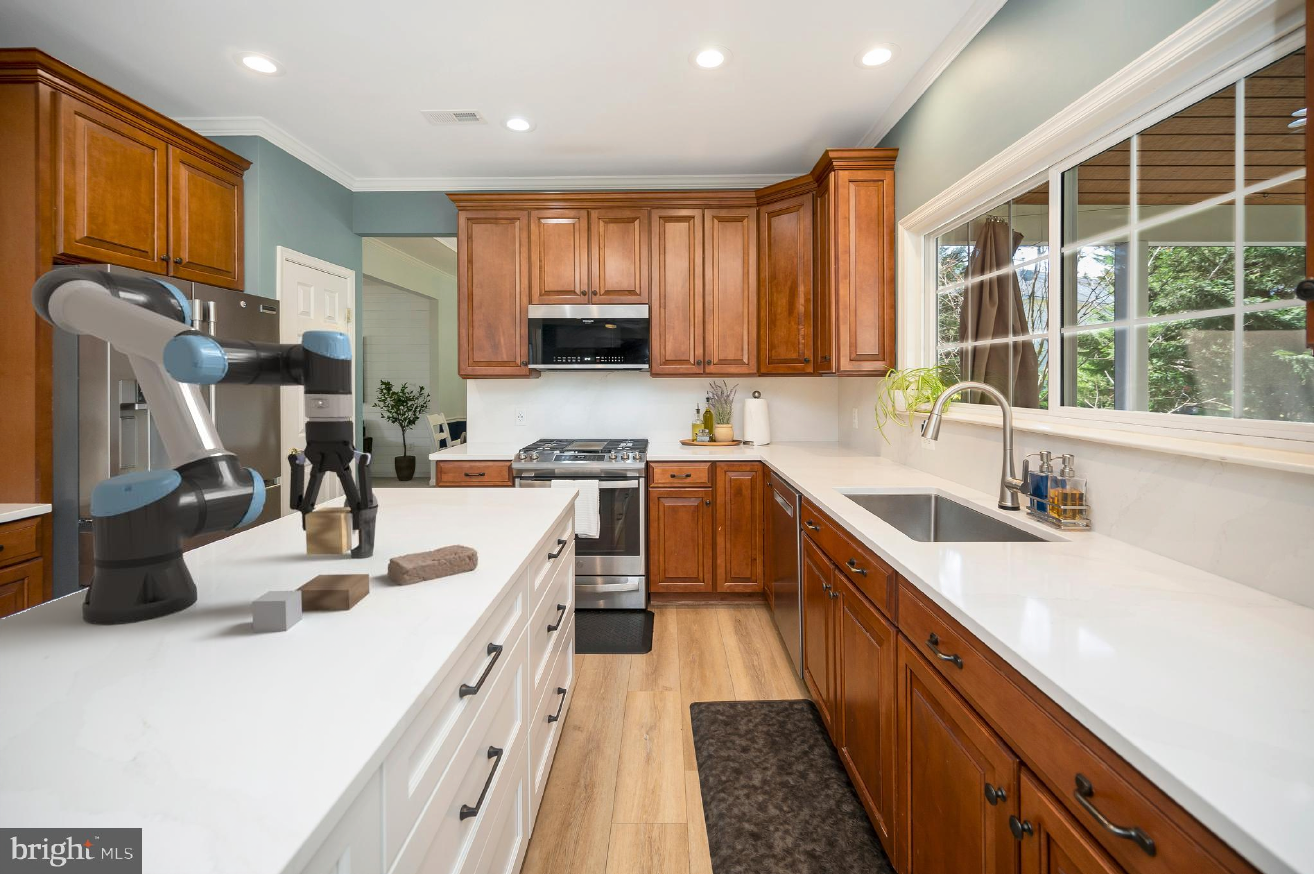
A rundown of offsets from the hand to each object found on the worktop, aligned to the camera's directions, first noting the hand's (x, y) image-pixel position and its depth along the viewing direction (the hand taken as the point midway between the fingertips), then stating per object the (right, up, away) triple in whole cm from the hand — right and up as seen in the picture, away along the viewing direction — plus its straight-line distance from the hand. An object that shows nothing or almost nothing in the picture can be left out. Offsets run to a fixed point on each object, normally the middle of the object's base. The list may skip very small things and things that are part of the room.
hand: (333, 547), depth 109 cm
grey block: (-3, -11, -10) cm, 15 cm away
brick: (+11, -9, +19) cm, 24 cm away
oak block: (0, 0, 0) cm, 0 cm away
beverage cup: (-10, -8, +31) cm, 33 cm away
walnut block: (0, -10, +1) cm, 10 cm away
